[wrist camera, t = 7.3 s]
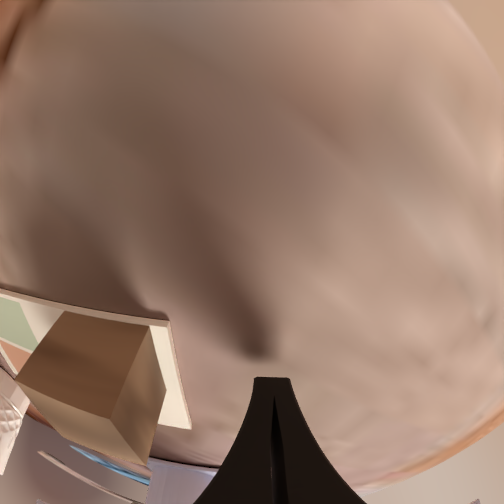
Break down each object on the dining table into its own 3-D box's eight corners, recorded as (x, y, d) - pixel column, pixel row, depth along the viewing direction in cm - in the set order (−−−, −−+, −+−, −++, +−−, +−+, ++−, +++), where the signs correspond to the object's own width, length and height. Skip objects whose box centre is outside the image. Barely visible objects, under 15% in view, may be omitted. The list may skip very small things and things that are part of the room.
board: (192, 424, 14) (191, 429, 14) (16, 370, 14) (14, 373, 14) (169, 320, 10) (166, 327, 10) (-31, 278, 10) (-34, 281, 10)
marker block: (166, 390, 12) (146, 466, 8) (92, 373, 12) (62, 436, 8) (149, 326, 10) (109, 419, 6) (64, 310, 10) (14, 379, 6)
